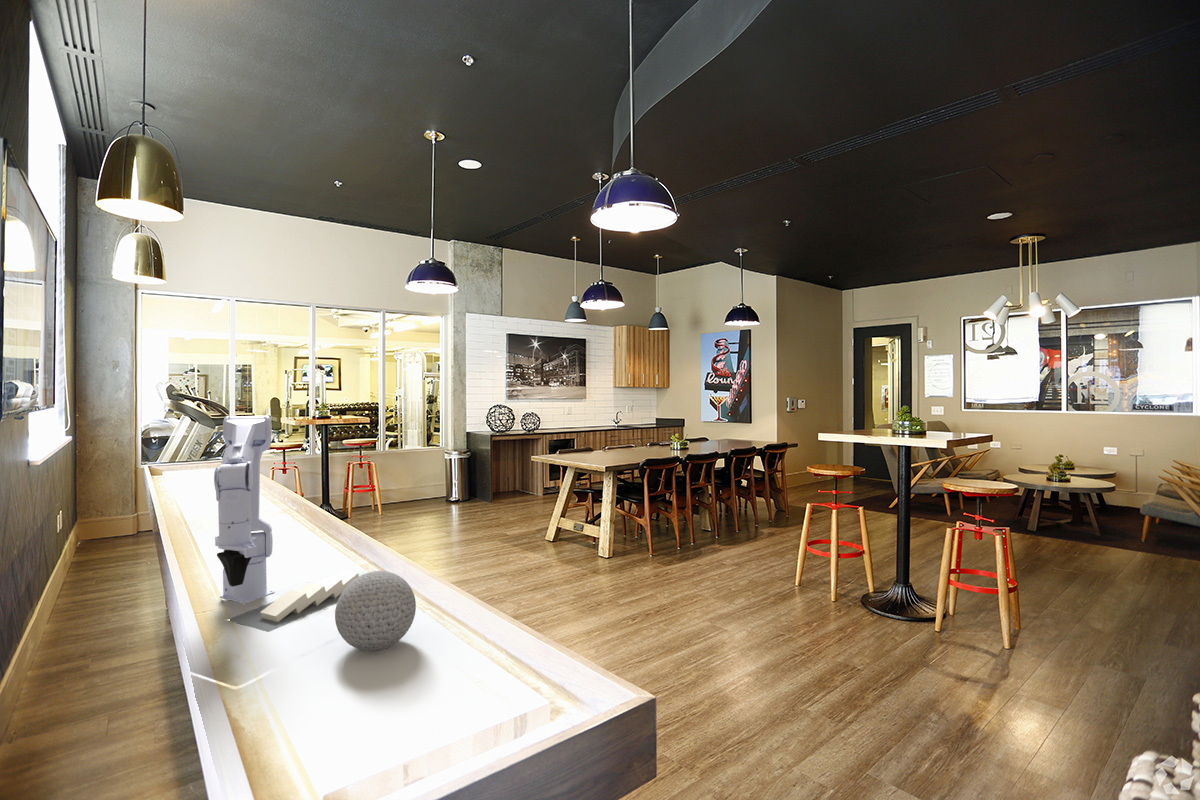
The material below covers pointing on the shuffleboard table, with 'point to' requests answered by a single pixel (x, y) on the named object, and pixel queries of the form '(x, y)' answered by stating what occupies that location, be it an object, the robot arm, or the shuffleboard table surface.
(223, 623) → the shuffleboard table surface
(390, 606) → the decorative ball
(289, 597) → the domino
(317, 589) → the domino
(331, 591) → the domino
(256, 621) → the slate mat
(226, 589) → the robot arm
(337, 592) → the domino
